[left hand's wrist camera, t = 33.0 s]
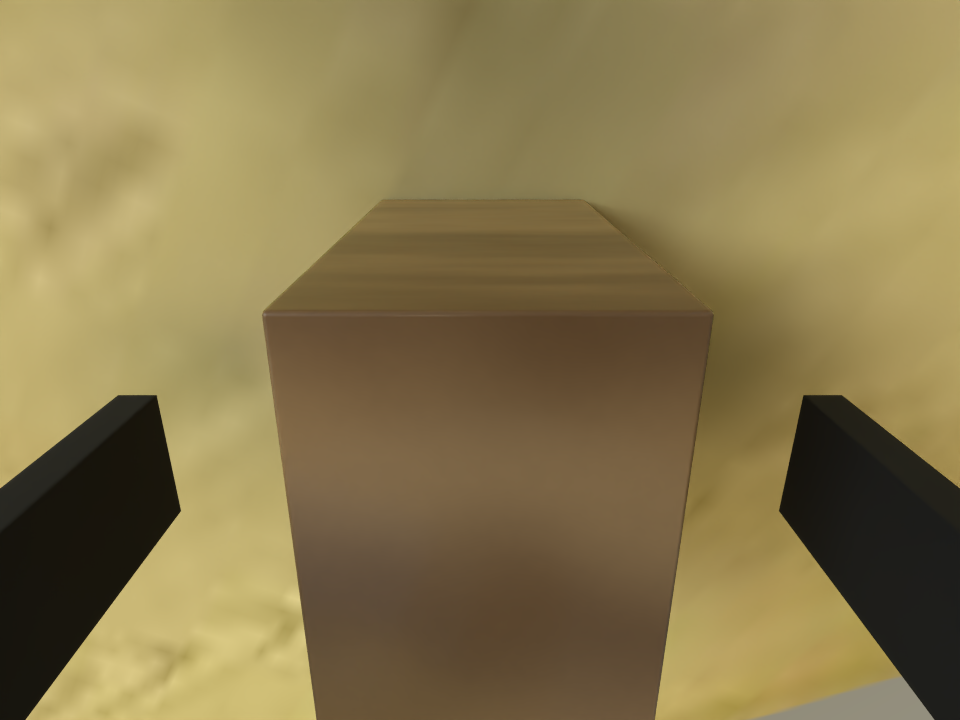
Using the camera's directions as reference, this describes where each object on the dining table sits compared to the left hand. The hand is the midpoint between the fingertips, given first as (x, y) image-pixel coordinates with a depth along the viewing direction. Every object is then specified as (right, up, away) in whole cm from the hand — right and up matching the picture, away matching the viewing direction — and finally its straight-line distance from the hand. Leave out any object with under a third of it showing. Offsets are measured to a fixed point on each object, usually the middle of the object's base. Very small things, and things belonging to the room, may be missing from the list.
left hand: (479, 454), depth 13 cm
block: (0, +2, +5) cm, 6 cm away
